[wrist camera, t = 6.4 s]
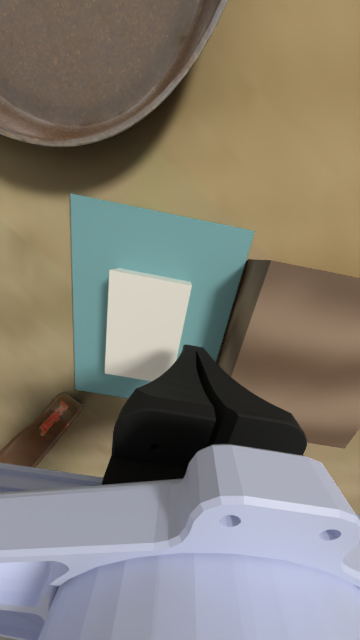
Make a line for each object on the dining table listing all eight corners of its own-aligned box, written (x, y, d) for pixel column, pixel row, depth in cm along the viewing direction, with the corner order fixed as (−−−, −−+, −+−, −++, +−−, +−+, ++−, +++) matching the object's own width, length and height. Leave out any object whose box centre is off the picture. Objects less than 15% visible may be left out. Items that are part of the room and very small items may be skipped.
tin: (36, 453, 23) (-42, 556, 15) (13, 441, 23) (-80, 542, 15) (98, 390, 19) (32, 489, 11) (72, 372, 18) (-18, 465, 10)
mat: (201, 407, 20) (201, 410, 19) (77, 387, 19) (75, 389, 19) (252, 231, 14) (254, 231, 13) (73, 195, 13) (70, 193, 13)
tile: (104, 373, 16) (113, 360, 18) (171, 384, 16) (172, 371, 18) (109, 269, 13) (119, 268, 14) (191, 285, 13) (190, 281, 15)
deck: (313, 411, 20) (344, 448, 16) (208, 393, 19) (213, 427, 15) (386, 286, 15) (455, 297, 11) (248, 259, 14) (271, 260, 11)
